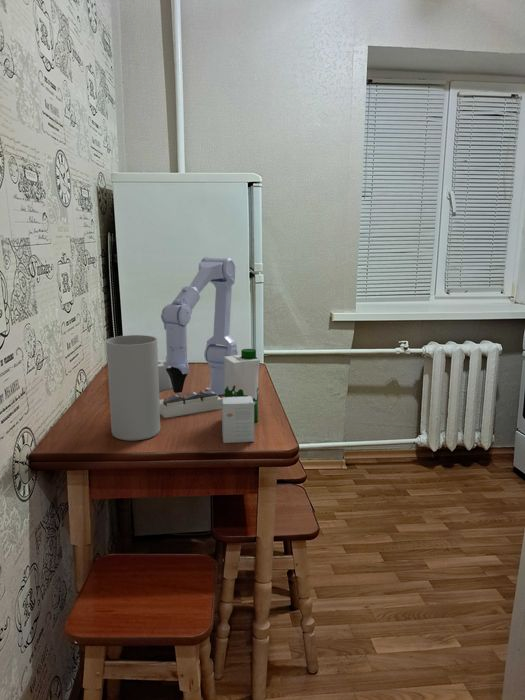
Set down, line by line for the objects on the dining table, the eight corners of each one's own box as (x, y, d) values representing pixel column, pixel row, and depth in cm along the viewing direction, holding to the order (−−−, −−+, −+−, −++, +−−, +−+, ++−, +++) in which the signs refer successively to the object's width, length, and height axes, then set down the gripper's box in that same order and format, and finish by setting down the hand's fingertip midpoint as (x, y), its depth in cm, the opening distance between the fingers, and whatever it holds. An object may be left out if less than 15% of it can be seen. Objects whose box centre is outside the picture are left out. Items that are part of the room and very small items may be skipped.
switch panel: (223, 399, 164) (223, 387, 163) (234, 406, 157) (234, 393, 157) (155, 409, 154) (155, 397, 153) (164, 418, 147) (163, 404, 146)
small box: (252, 433, 136) (252, 395, 134) (254, 442, 131) (254, 402, 129) (221, 435, 135) (221, 396, 133) (222, 443, 130) (222, 403, 128)
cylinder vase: (162, 439, 132) (159, 343, 127) (112, 444, 129) (106, 346, 123) (158, 422, 144) (154, 334, 138) (111, 426, 140) (106, 336, 135)
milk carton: (262, 422, 144) (262, 352, 140) (231, 426, 141) (231, 355, 137) (250, 412, 152) (250, 346, 148) (221, 416, 149) (220, 348, 144)
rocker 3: (212, 396, 157) (213, 391, 157) (216, 398, 155) (217, 393, 155) (199, 395, 155) (200, 390, 155) (202, 397, 153) (203, 392, 153)
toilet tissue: (186, 385, 179) (185, 361, 177) (152, 393, 170) (151, 367, 168) (171, 380, 185) (170, 356, 183) (138, 387, 176) (137, 362, 174)
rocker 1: (178, 398, 152) (177, 393, 152) (182, 400, 150) (181, 396, 149) (164, 403, 150) (163, 398, 150) (167, 406, 148) (166, 401, 147)
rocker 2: (196, 395, 155) (195, 391, 154) (199, 398, 152) (198, 393, 152) (182, 400, 153) (181, 396, 152) (186, 403, 151) (185, 398, 150)
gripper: (155, 342, 151) (156, 387, 154) (171, 352, 139) (173, 401, 142) (178, 340, 155) (179, 384, 158) (196, 350, 142) (197, 397, 145)
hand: (177, 392), depth 150 cm, fingers closed
